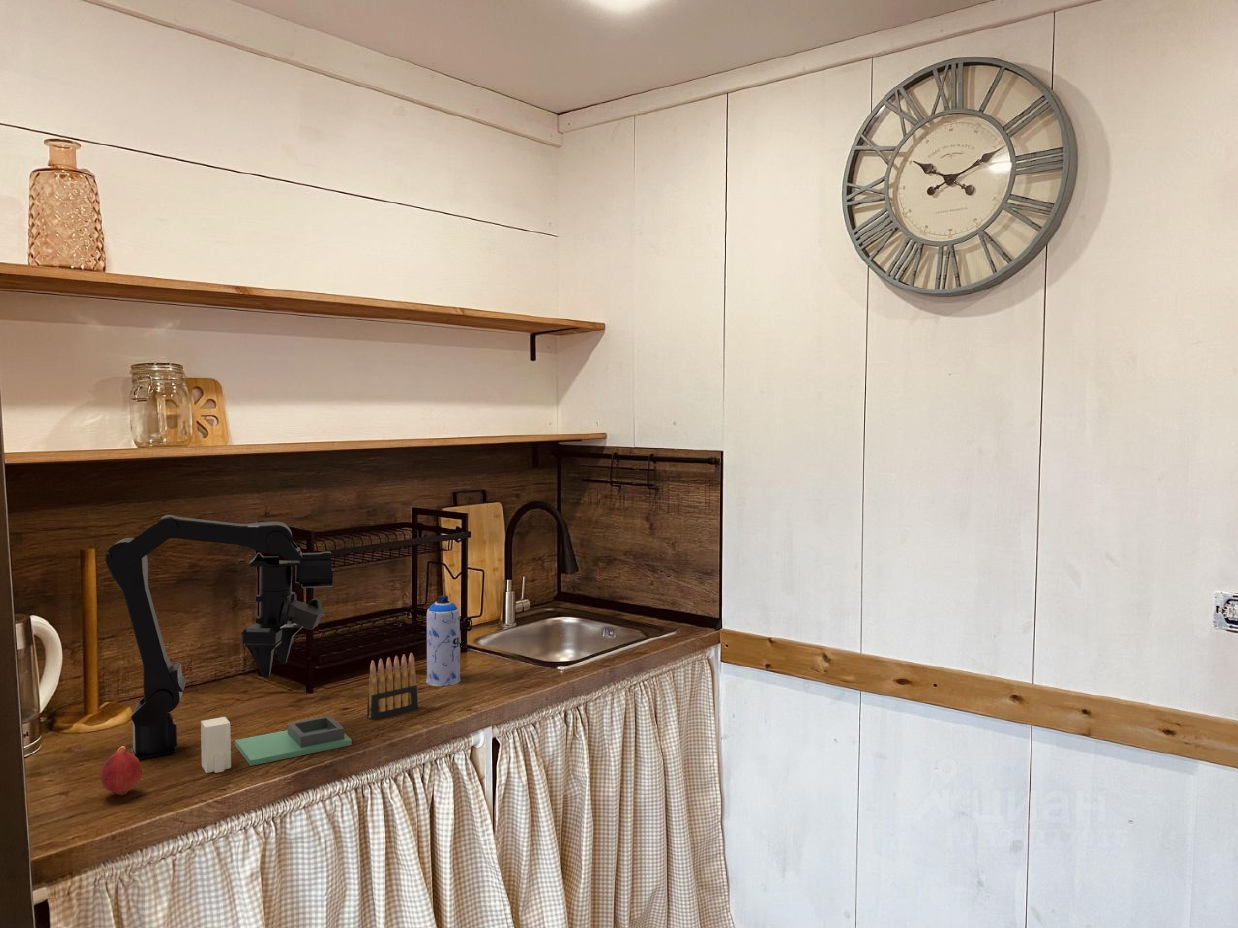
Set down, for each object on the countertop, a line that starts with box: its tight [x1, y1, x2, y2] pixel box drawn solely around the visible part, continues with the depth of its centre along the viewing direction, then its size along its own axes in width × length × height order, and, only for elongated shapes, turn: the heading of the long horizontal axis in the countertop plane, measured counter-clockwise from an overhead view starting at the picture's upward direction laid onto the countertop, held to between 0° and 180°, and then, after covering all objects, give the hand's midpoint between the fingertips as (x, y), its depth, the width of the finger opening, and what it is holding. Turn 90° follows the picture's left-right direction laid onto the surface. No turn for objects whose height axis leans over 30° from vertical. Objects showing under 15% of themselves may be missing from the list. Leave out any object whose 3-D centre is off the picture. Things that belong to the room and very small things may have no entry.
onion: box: [100, 745, 143, 796], centre depth 145 cm, size 6×6×8 cm
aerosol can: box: [425, 594, 462, 687], centre depth 208 cm, size 8×8×20 cm
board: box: [234, 715, 353, 767], centre depth 168 cm, size 18×12×3 cm, turn 125°
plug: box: [200, 716, 232, 774], centre depth 158 cm, size 4×7×8 cm, turn 35°
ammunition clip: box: [366, 652, 419, 721], centre depth 186 cm, size 11×2×12 cm, turn 132°
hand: (274, 670), depth 171 cm, fingers open, 9 cm apart
